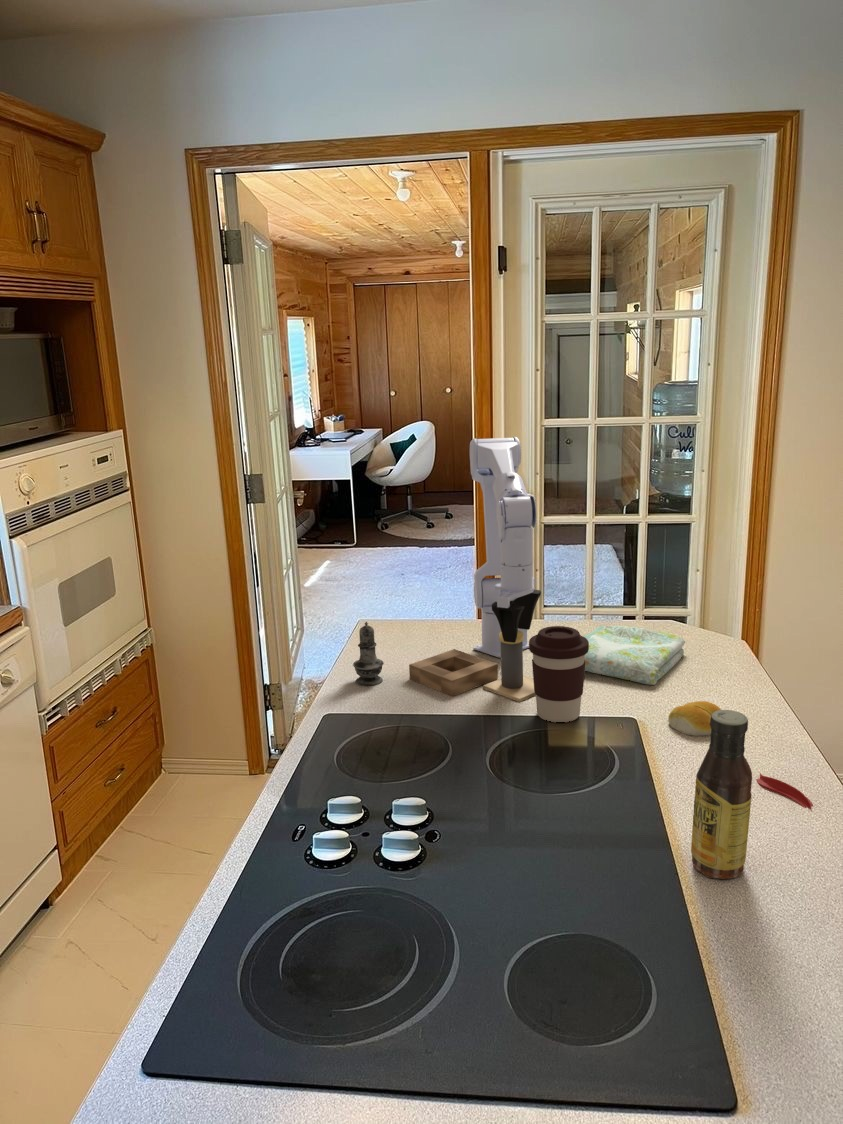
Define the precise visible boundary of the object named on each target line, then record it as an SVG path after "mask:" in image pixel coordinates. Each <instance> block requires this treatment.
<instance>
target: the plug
mask: <svg viewBox="0 0 843 1124" xmlns="http://www.w3.org/2000/svg"><path fill="white" fill-rule="evenodd" d="M499 640H500V641H501V658H500V662H501V663H500V669H501V670H500V672H501V673H500V676H501V677H500V679H501V681H502V686H503V687H505V688H509V689H516V688H520V687H522V686H523V675H524V660H523V659H524V658H523V657H524V655H523V654H524V653H523V652H524V649H523V642H522V641H523V640H524V636H523V632H521V631H519V630H518V633H517V639H516V642H515V643H513V642H505V641H504V640H503V636H502V632H500V633H499Z"/></svg>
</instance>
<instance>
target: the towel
mask: <svg viewBox="0 0 843 1124" xmlns="http://www.w3.org/2000/svg"><path fill="white" fill-rule="evenodd" d="M582 636H583V637H585V638H586V639H587V640H588V642H589V651H588V653H586V654H585V658H584V660H585V672H589V673H593V674H598V675H601V674H602V676H607V677H611V678H616V679H617V678H618V679H622V680H625V681H629V680H630V682H635V683H640V684H644V685H649V686H655V685H656V684H657V683H658V681H659V680H661V679H662V678H663V677H664V676H665V675H666V674H667V673H668V672H669V671H670V670H671V669H672V668H673V667H674V666H675V665H676V664H677V663H678V662H679V661H681V659H682V658H681V657H683V656H684V652H685V650H684V649H683V646H684V645H685V643H686V640H685V639H684V638H683V637H681V636H680V635H679V634H676V633H670V632H666V631H660V630H654V629H649V628H643V627H637V626H627V625H600V626H598V627H597V628H595V630H592V631H591V632H589V633H588V634H585V635H582Z"/></svg>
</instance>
